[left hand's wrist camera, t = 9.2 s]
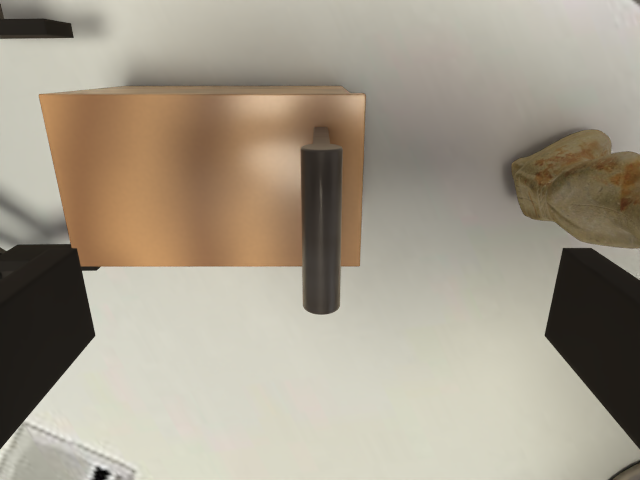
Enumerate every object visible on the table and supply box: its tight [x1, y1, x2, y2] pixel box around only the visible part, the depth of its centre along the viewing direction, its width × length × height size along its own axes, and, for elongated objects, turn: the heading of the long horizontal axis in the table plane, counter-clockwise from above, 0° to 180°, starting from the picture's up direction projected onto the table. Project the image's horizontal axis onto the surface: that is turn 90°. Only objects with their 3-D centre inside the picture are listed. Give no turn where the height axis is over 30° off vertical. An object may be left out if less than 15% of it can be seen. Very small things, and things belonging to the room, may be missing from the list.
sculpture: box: [511, 130, 640, 248], centre depth 27 cm, size 6×7×15 cm
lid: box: [39, 93, 366, 315], centre depth 20 cm, size 16×9×9 cm, turn 90°
